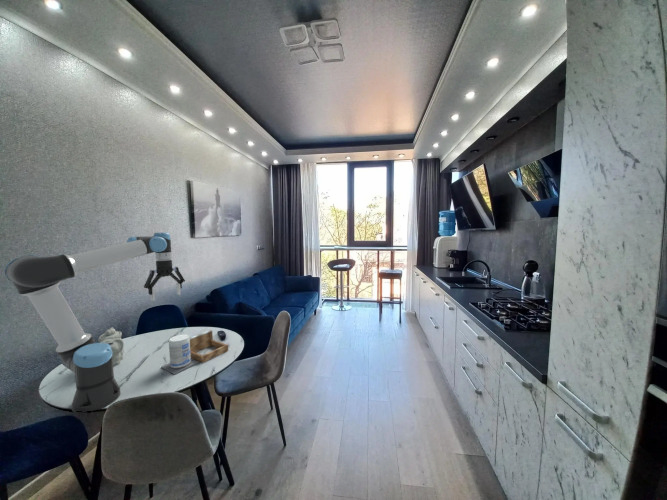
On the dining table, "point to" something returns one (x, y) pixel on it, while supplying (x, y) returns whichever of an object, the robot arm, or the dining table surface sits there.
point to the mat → (178, 370)
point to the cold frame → (205, 346)
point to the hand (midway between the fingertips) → (166, 297)
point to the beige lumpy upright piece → (113, 344)
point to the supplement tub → (179, 351)
